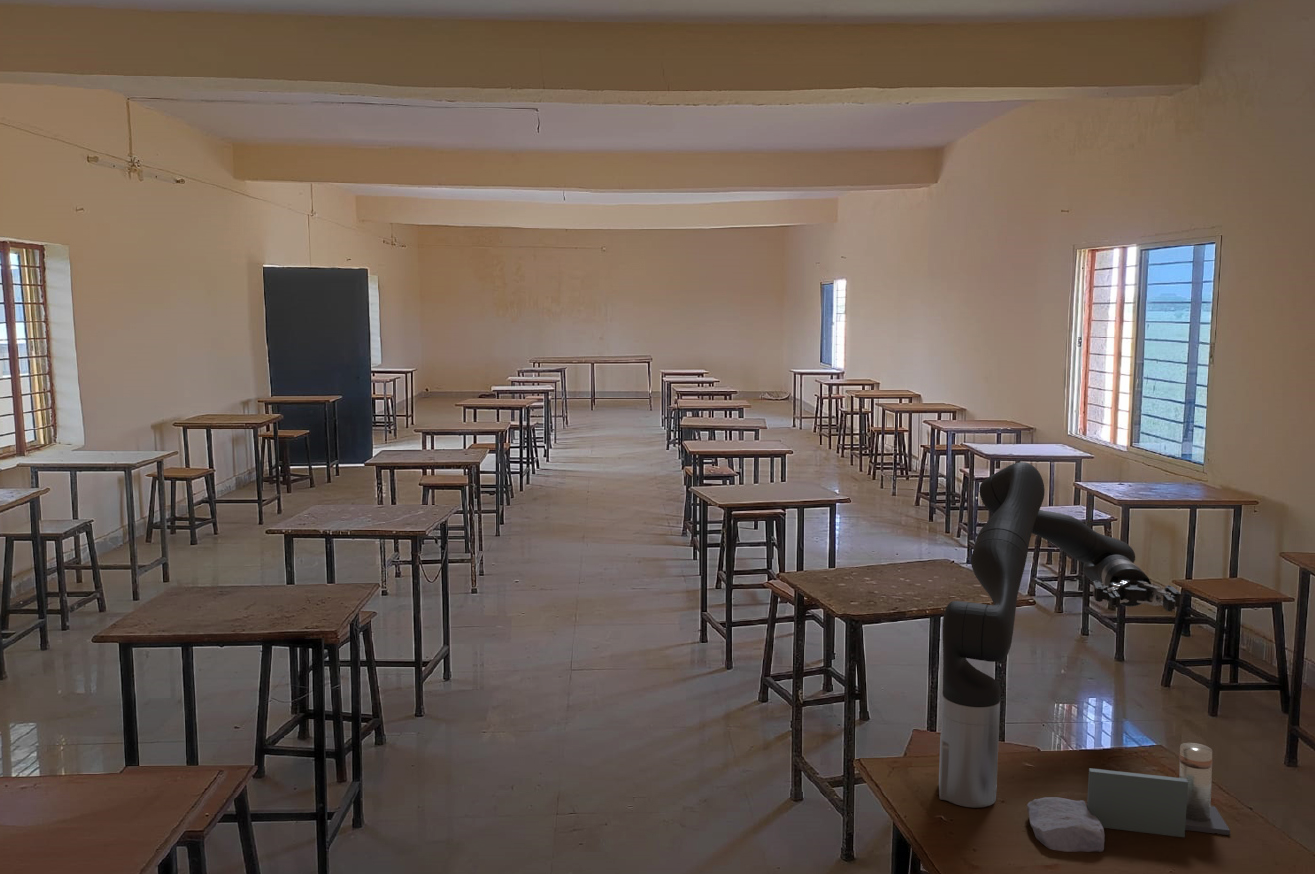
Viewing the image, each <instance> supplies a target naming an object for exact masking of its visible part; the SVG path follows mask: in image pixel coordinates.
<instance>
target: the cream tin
mask: <svg viewBox="0 0 1315 874" xmlns="http://www.w3.org/2000/svg"><path fill="white" fill-rule="evenodd" d="M1178 759H1179V772H1178V773H1179V774H1178V775H1179V777H1178V778H1184V779H1187V781H1188V792H1187V808H1186V818H1188V819H1191V820H1195V821H1206V820H1209V819H1210V810H1211V806H1212V803H1211V802H1212V800H1211V799H1212V773H1213V771H1212V769H1213V749H1212V748H1211V747H1209V746H1207V745H1205V744H1201V743H1197V742H1183V743H1181V744H1180V746H1179V758H1178Z"/></svg>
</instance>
